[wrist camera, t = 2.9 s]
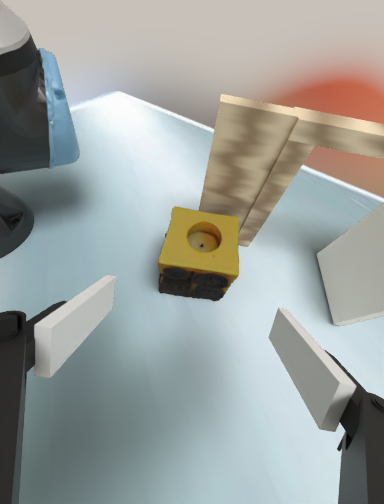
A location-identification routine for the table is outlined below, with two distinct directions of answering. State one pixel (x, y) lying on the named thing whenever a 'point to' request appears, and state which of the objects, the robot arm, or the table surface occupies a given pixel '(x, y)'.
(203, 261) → the candle
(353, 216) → the table surface
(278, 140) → the door frame
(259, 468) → the table surface
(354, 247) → the door
